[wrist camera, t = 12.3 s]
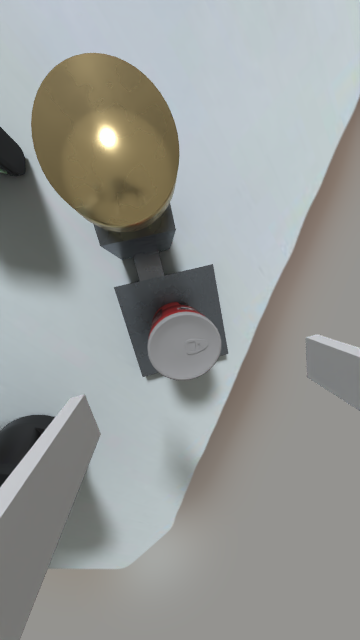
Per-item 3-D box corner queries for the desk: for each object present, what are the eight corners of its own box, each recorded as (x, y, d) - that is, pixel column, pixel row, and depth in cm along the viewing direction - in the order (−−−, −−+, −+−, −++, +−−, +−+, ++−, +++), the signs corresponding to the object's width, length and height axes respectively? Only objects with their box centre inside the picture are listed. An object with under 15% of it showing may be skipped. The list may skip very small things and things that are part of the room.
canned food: (205, 332, 29) (232, 361, 18) (164, 353, 29) (167, 393, 18) (187, 292, 27) (205, 298, 17) (143, 314, 27) (133, 334, 16)
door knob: (108, 257, 21) (65, 235, 11) (83, 176, 19) (3, 64, 9) (177, 242, 22) (191, 209, 12) (159, 162, 20) (160, 42, 10)
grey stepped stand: (143, 371, 31) (136, 410, 22) (92, 207, 25) (49, 158, 15) (224, 349, 32) (251, 377, 23) (195, 186, 26) (216, 128, 16)
